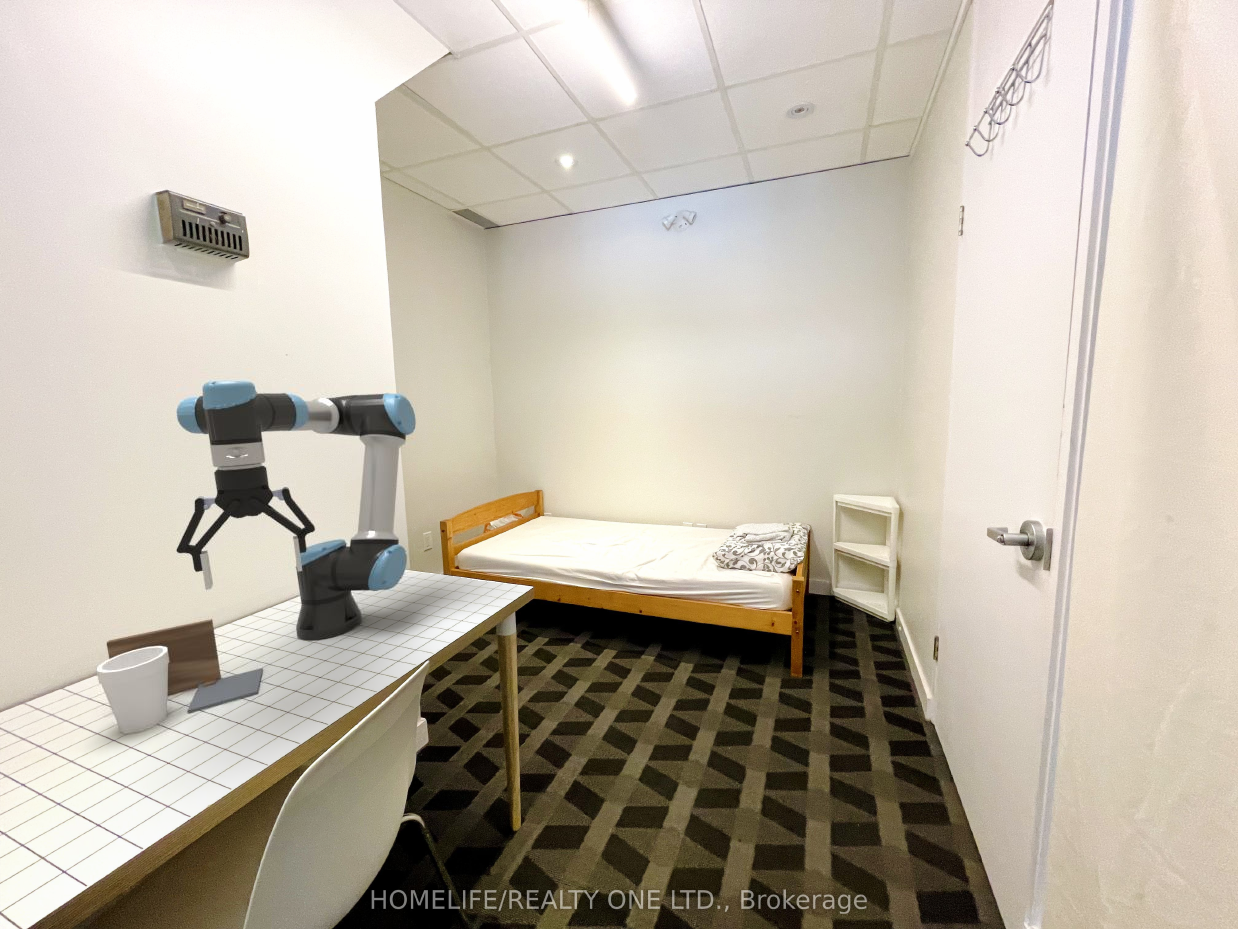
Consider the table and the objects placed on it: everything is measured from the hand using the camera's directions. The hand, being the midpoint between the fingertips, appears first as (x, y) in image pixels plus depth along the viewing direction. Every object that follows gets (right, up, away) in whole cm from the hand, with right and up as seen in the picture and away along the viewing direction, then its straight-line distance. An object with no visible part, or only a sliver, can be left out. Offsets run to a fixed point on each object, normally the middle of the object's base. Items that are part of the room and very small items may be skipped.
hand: (256, 578), depth 89 cm
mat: (-15, -26, +11) cm, 32 cm away
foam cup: (-22, -28, +1) cm, 36 cm away
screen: (-26, -27, +11) cm, 39 cm away
